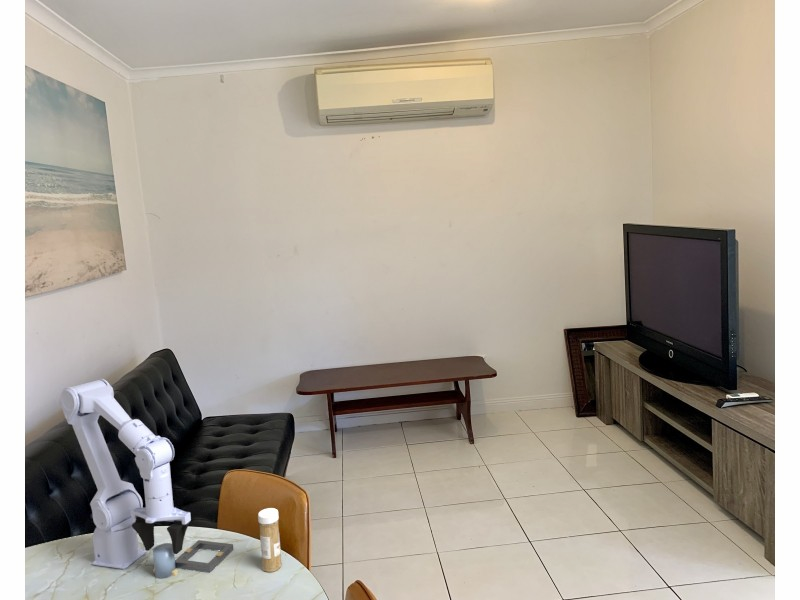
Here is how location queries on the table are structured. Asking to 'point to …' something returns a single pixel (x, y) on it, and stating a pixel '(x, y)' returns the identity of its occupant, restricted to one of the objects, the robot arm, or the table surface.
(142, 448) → the robot arm
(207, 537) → the table surface
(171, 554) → the blue-grey rounded tapered piece
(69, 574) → the table surface
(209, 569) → the collar
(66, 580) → the table surface
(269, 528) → the sprinkles bottle
